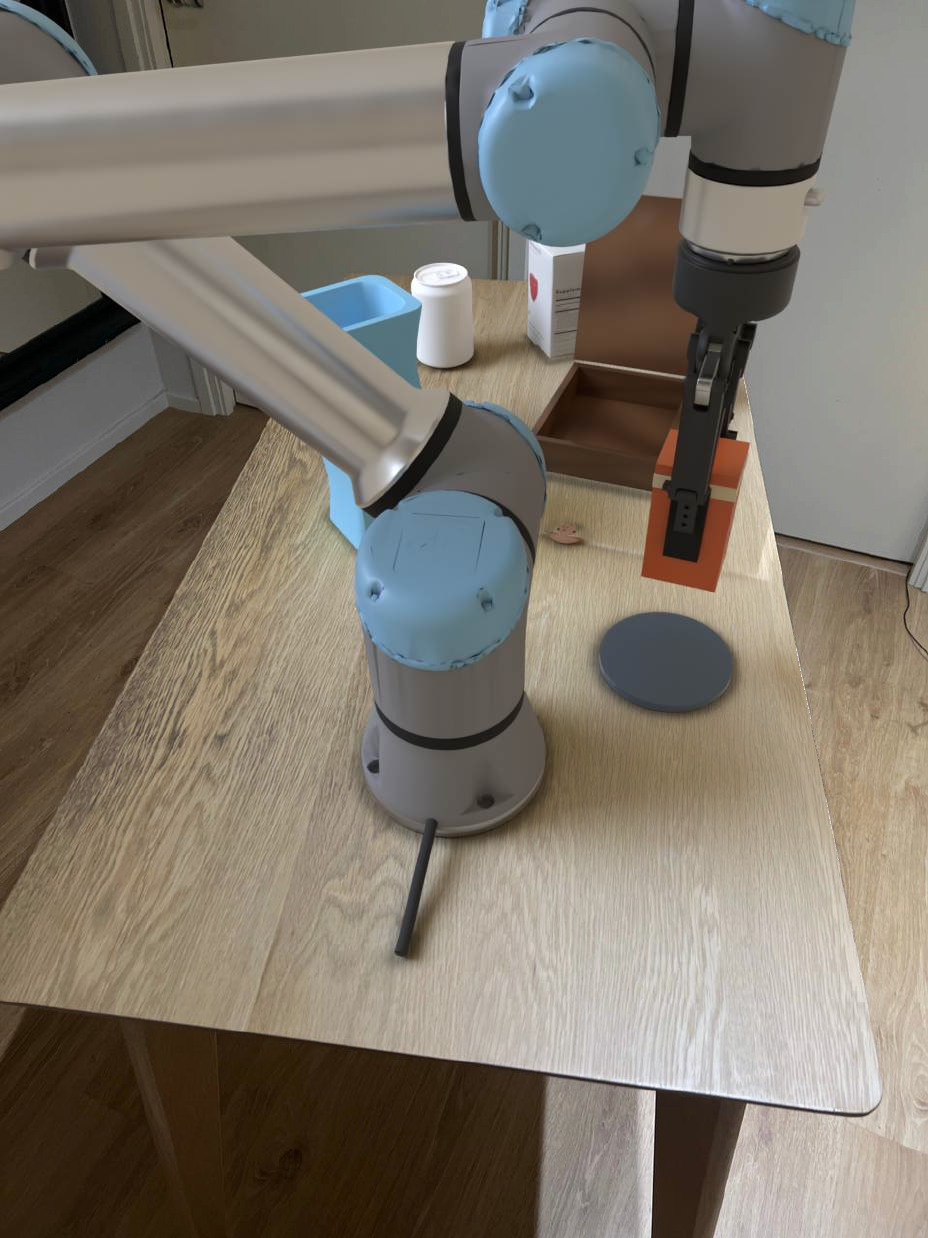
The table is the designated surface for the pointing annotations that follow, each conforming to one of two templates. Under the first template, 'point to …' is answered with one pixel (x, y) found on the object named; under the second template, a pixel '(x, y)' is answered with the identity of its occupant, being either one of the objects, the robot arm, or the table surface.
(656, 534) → the box
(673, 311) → the chest lid
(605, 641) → the plate
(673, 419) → the chest
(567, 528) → the cookie
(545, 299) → the white product box
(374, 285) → the vase
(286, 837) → the table surface
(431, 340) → the beverage can
